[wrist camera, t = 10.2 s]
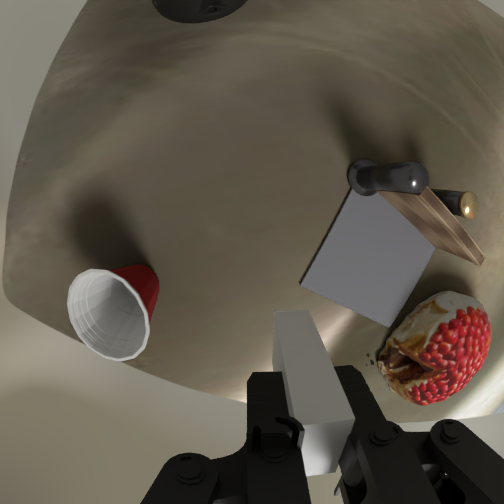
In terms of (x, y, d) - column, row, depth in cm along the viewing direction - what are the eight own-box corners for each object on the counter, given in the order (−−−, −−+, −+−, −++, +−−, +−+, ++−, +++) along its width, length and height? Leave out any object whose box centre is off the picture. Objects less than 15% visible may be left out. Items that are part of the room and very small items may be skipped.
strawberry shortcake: (353, 336, 41) (377, 373, 31) (467, 264, 39) (505, 281, 29) (382, 415, 46) (399, 449, 36) (475, 354, 44) (500, 377, 34)
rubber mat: (358, 173, 35) (359, 173, 35) (440, 233, 37) (442, 233, 37) (299, 284, 39) (300, 285, 38) (388, 326, 41) (389, 327, 40)
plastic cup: (125, 230, 37) (81, 249, 25) (190, 274, 38) (167, 311, 26) (96, 289, 38) (54, 324, 27) (154, 330, 40) (127, 377, 28)
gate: (375, 191, 35) (419, 195, 24) (380, 182, 35) (425, 184, 24) (433, 246, 37) (480, 266, 26) (438, 239, 37) (485, 257, 26)
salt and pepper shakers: (362, 141, 34) (412, 125, 22) (434, 194, 36) (493, 203, 23) (341, 184, 36) (386, 186, 23) (416, 233, 37) (472, 254, 25)
